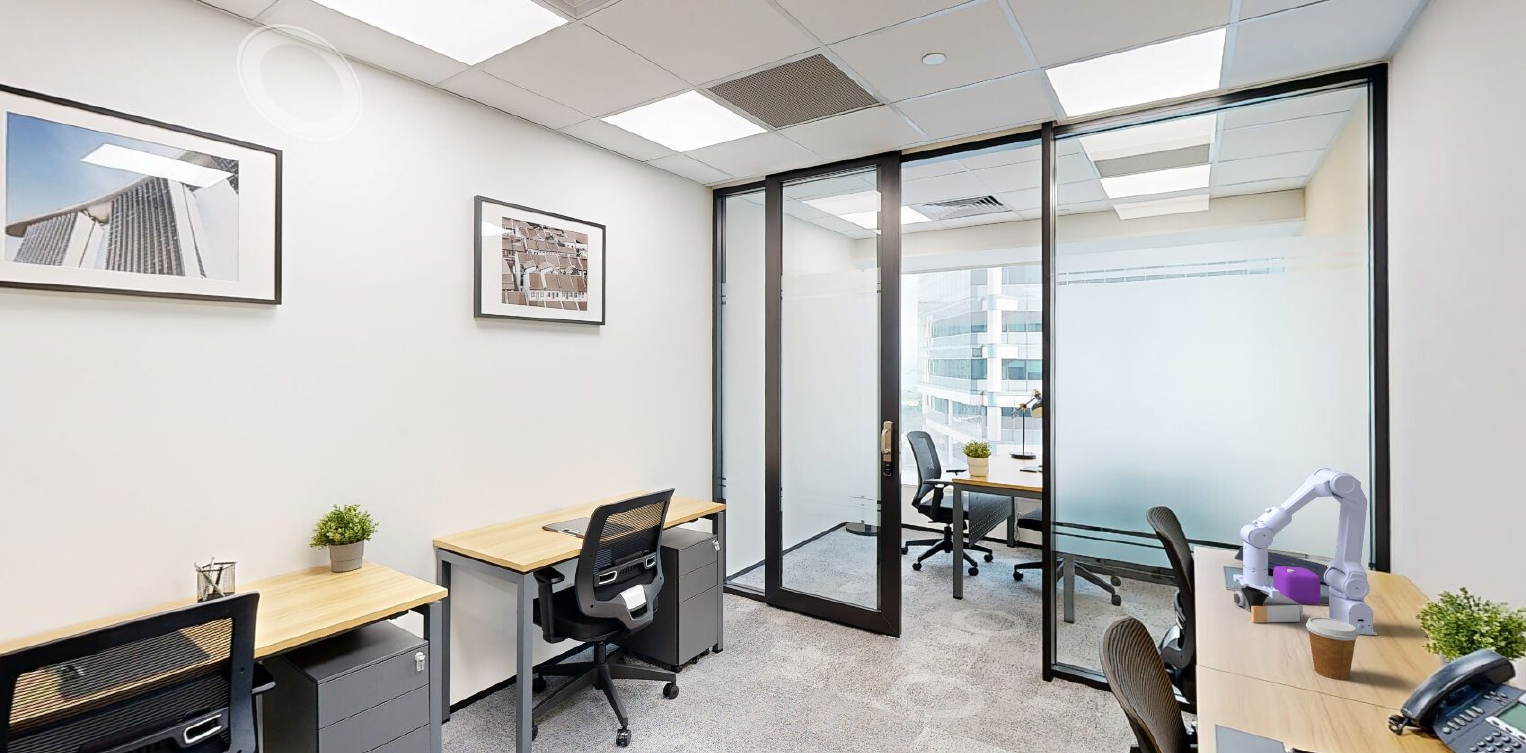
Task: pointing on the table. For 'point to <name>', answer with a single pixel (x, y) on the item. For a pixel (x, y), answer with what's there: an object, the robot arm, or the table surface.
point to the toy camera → (1297, 584)
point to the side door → (1275, 613)
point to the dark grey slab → (1290, 563)
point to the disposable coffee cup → (1332, 646)
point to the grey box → (1282, 600)
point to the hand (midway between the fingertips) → (1255, 613)
